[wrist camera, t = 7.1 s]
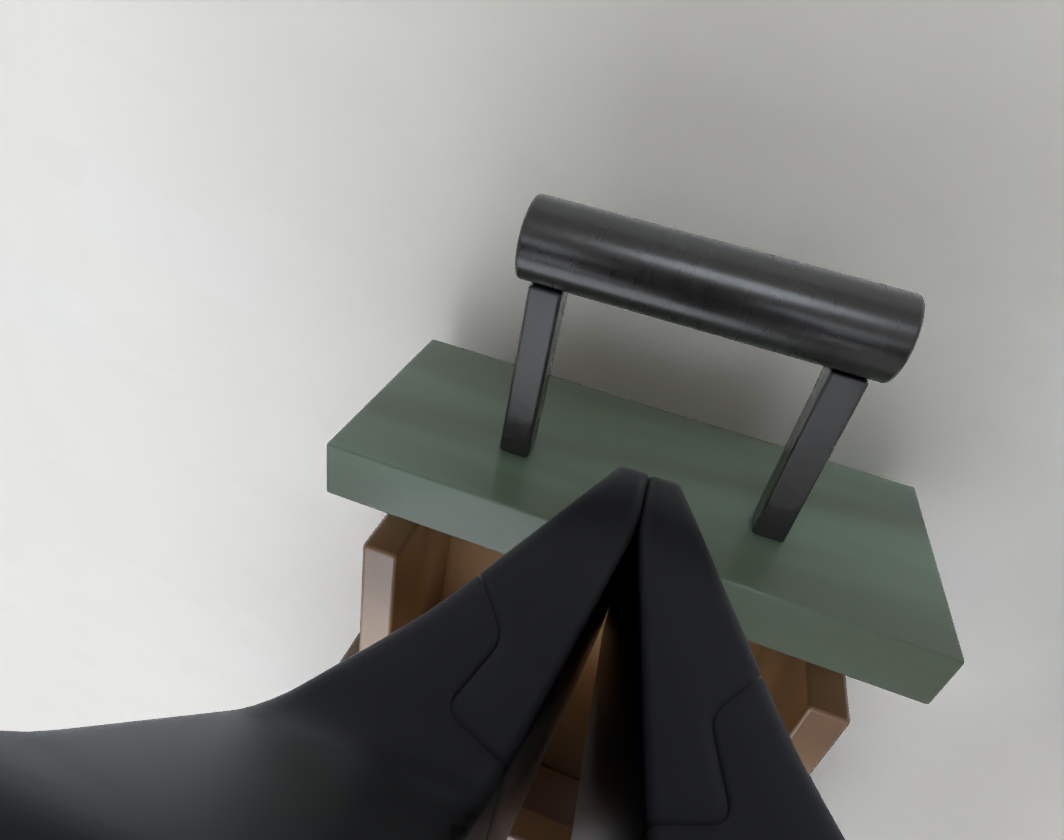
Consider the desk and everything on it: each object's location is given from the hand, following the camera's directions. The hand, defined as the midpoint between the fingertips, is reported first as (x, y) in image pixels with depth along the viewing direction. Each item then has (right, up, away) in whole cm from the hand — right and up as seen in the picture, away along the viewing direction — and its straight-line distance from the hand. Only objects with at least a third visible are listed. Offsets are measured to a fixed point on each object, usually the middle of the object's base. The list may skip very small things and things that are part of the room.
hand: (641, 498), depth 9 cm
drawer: (+1, -3, +9) cm, 9 cm away
